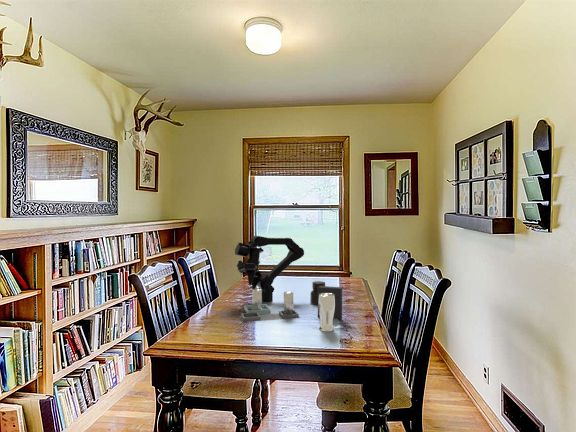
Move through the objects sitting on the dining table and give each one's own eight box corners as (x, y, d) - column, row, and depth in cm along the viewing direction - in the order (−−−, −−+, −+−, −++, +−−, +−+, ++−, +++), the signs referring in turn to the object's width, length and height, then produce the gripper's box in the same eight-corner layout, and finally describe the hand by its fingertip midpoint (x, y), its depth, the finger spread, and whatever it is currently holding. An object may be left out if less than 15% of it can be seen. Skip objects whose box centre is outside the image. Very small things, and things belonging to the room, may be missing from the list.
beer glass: (317, 327, 177) (317, 292, 177) (333, 327, 178) (333, 292, 178) (319, 332, 170) (319, 296, 170) (336, 332, 171) (336, 296, 171)
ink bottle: (331, 304, 218) (331, 282, 218) (320, 307, 212) (320, 284, 212) (316, 301, 225) (316, 280, 225) (306, 304, 219) (306, 282, 218)
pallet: (295, 314, 199) (295, 309, 199) (300, 320, 189) (300, 314, 189) (239, 318, 192) (239, 312, 192) (242, 324, 182) (242, 318, 182)
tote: (266, 309, 208) (266, 304, 208) (270, 315, 197) (270, 309, 197) (244, 311, 205) (244, 305, 205) (247, 316, 194) (247, 311, 194)
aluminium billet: (260, 310, 204) (260, 288, 204) (262, 312, 199) (262, 289, 199) (251, 310, 203) (251, 288, 202) (253, 312, 198) (253, 290, 198)
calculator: (342, 319, 191) (342, 286, 190) (340, 321, 187) (340, 288, 186) (319, 317, 194) (319, 285, 194) (317, 319, 190) (317, 287, 190)
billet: (292, 314, 195) (291, 291, 195) (294, 316, 191) (294, 293, 191) (282, 314, 194) (282, 291, 194) (285, 317, 190) (285, 293, 190)
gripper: (242, 264, 228) (240, 291, 221) (235, 252, 211) (232, 282, 205) (262, 264, 227) (260, 291, 220) (256, 252, 210) (254, 282, 203)
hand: (251, 287), depth 212 cm, fingers open, 9 cm apart
